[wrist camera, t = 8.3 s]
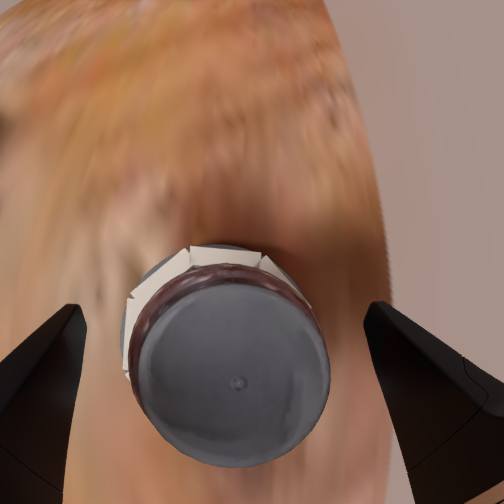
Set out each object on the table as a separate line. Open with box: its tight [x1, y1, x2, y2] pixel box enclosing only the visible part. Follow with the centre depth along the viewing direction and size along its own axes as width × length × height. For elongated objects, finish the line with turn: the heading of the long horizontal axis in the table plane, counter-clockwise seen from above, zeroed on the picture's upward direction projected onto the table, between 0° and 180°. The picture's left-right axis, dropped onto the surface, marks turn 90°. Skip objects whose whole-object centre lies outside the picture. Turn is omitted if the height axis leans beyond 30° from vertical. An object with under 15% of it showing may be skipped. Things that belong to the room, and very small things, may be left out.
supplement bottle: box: [128, 263, 331, 468], centre depth 11 cm, size 6×6×11 cm
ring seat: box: [121, 244, 312, 382], centre depth 16 cm, size 11×11×2 cm
